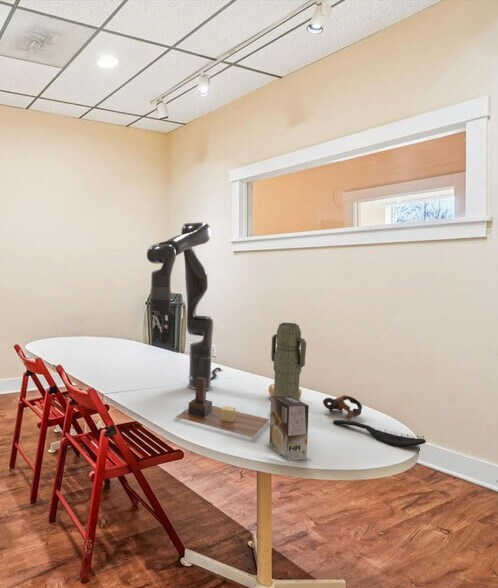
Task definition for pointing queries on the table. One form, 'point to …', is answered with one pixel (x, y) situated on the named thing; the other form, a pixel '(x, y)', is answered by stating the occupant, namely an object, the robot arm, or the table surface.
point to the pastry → (271, 390)
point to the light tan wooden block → (228, 413)
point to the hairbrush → (386, 435)
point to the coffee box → (289, 426)
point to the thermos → (288, 359)
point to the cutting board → (240, 425)
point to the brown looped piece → (343, 405)
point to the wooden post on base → (200, 400)
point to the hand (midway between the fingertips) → (159, 340)
